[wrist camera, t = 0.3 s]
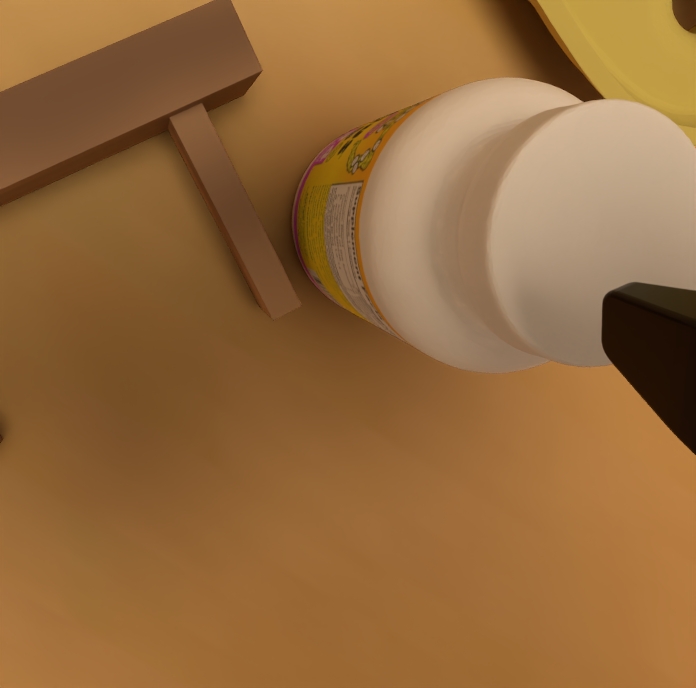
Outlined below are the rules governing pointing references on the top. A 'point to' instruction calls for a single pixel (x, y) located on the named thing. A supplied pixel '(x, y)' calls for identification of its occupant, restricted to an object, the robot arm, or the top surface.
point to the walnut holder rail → (149, 125)
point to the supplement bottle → (499, 221)
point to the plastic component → (630, 52)
